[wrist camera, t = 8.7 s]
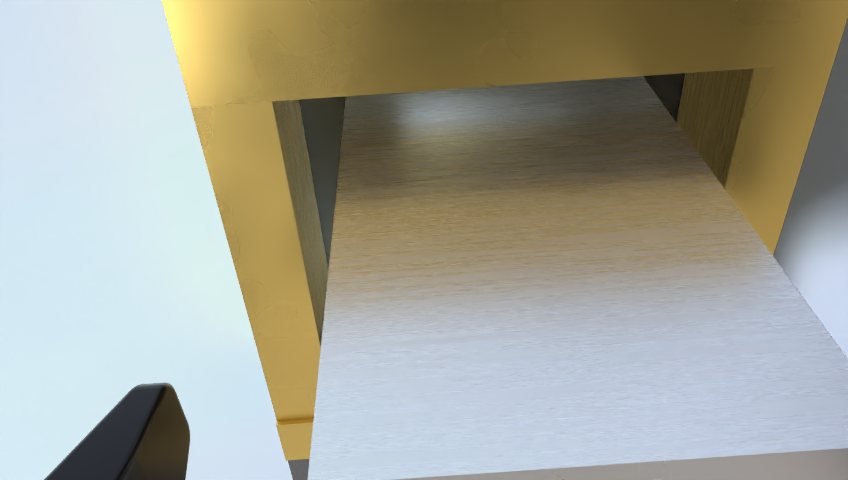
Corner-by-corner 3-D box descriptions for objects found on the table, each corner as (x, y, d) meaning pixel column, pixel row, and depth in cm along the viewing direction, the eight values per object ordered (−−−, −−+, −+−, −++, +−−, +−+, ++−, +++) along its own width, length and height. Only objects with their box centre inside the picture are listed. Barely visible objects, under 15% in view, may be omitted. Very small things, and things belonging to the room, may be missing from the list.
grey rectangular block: (606, 289, 14) (771, 711, 8) (373, 304, 13) (365, 742, 8) (637, 68, 11) (927, 466, 5) (346, 87, 11) (304, 508, 5)
